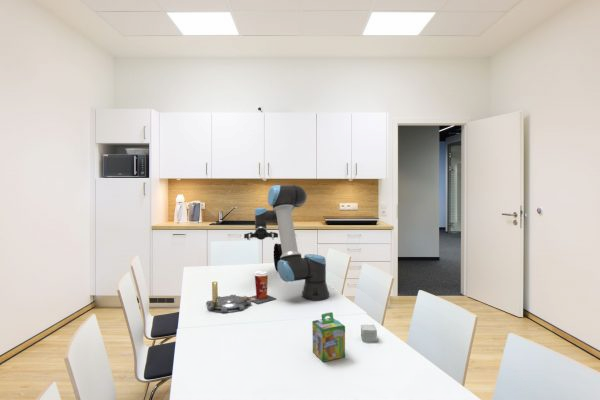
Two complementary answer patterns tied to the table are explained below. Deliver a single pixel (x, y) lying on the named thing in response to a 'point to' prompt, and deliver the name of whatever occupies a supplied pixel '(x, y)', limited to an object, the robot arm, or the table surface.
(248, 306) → the sprocket base
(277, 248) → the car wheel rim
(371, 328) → the small box
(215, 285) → the sprocket
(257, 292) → the paper cup
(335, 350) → the chalk box
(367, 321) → the table surface
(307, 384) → the table surface
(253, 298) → the marked pad
